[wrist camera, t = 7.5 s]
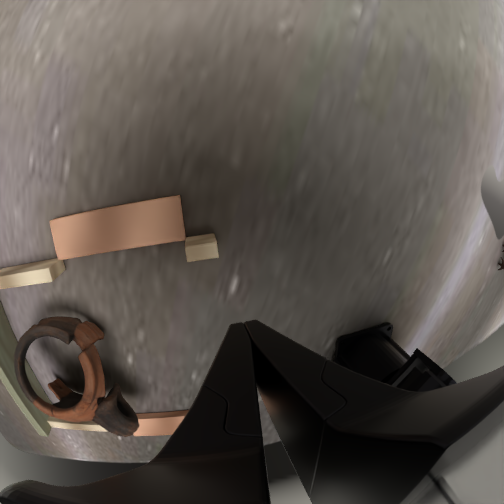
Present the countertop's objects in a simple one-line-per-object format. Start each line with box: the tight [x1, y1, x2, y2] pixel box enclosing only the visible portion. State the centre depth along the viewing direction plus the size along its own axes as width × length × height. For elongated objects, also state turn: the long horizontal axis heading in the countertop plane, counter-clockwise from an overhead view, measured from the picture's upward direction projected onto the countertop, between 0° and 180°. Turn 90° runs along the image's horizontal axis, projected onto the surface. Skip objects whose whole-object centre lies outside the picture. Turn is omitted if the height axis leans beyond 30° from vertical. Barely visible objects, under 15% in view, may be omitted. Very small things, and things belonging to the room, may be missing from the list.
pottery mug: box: [14, 317, 139, 437], centre depth 18 cm, size 12×9×8 cm
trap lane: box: [0, 195, 219, 437], centre depth 19 cm, size 22×23×4 cm
